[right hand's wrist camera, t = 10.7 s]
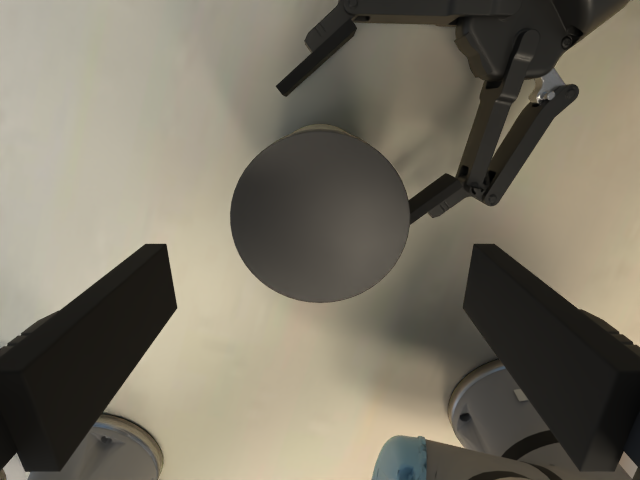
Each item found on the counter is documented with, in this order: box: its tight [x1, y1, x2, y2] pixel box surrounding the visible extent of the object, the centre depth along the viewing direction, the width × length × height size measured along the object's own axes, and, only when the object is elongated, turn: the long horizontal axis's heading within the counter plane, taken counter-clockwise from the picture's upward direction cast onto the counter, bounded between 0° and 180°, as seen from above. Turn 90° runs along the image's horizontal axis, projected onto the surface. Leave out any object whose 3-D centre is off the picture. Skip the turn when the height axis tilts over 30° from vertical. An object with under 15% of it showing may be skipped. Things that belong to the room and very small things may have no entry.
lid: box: [230, 129, 410, 303], centre depth 20 cm, size 10×10×2 cm
